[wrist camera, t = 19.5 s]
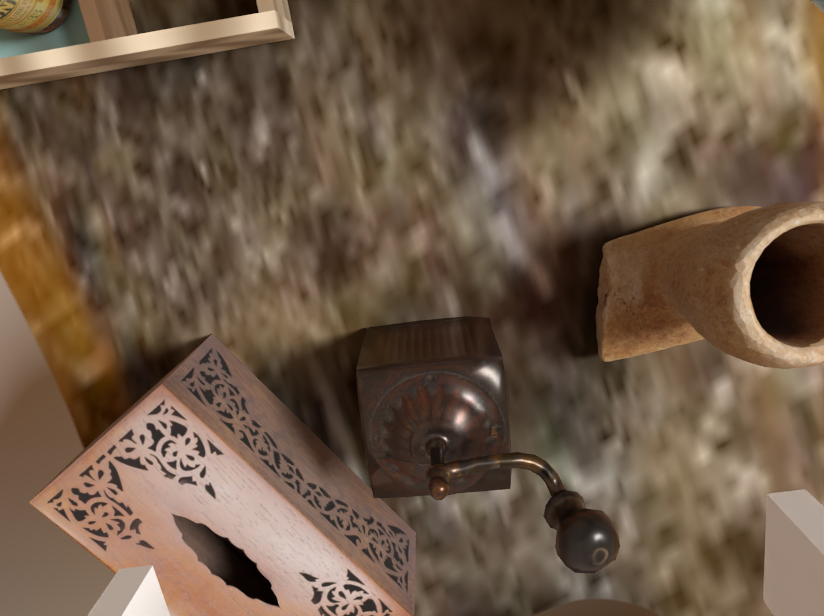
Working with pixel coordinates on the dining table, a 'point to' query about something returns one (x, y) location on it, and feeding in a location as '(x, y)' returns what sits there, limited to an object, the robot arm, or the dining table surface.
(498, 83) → the dining table surface
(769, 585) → the robot arm
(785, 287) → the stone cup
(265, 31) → the birch caddy
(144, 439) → the tissue box cover
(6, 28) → the sauce bottle
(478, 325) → the manual coffee grinder
